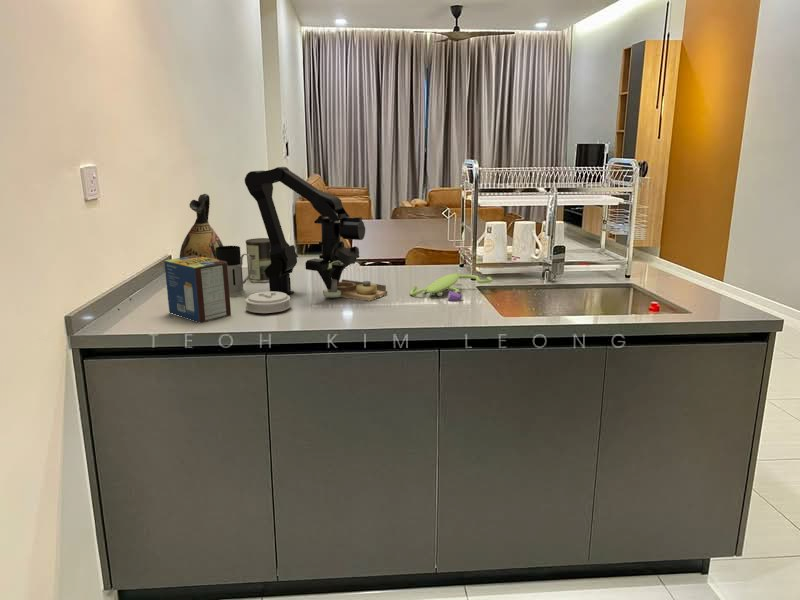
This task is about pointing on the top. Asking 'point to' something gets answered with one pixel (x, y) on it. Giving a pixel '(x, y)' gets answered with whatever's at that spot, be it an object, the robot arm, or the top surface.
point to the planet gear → (333, 290)
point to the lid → (268, 302)
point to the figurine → (448, 286)
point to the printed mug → (258, 258)
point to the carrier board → (360, 290)
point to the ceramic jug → (201, 232)
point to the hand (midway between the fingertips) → (332, 288)
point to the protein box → (198, 288)
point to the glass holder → (233, 268)
